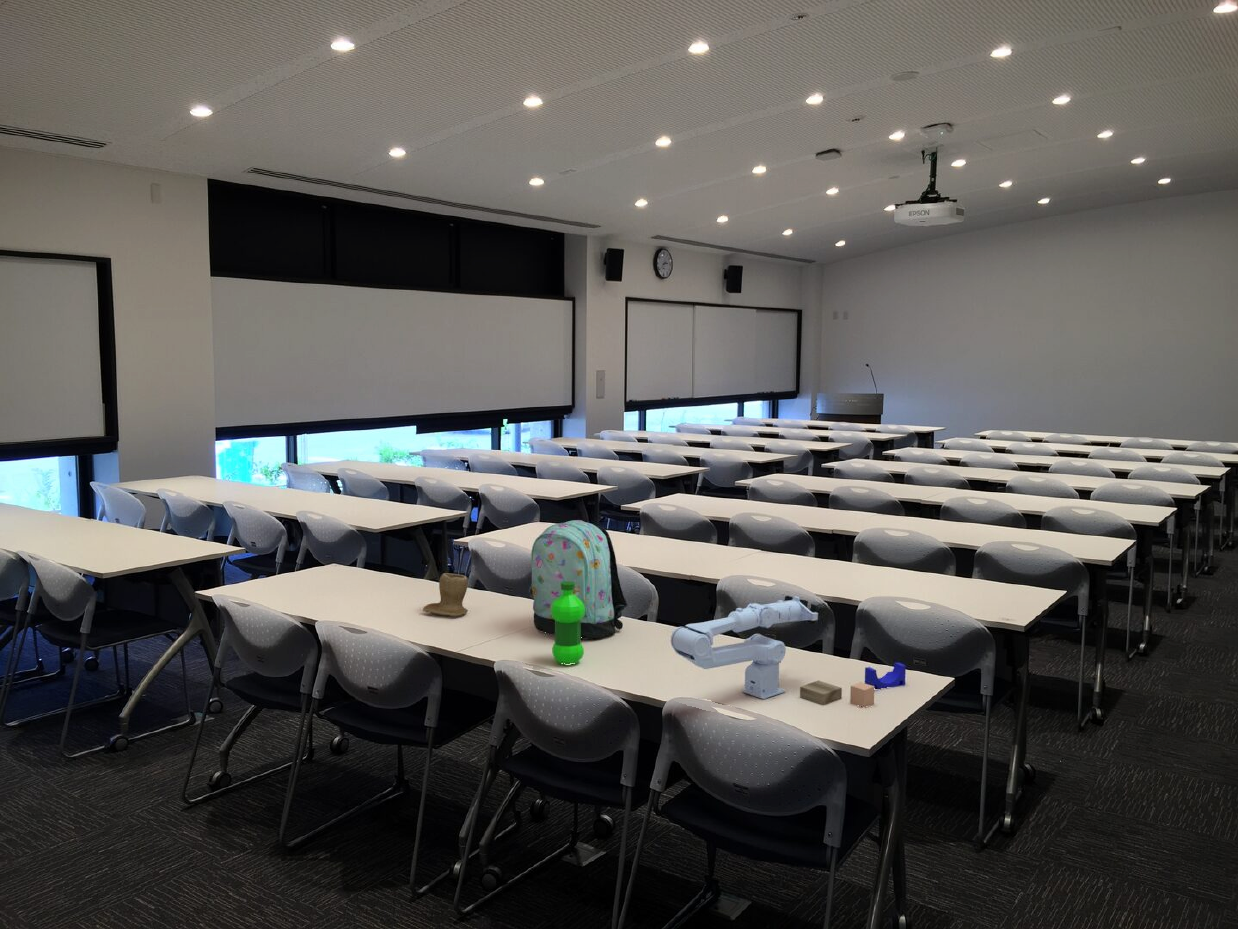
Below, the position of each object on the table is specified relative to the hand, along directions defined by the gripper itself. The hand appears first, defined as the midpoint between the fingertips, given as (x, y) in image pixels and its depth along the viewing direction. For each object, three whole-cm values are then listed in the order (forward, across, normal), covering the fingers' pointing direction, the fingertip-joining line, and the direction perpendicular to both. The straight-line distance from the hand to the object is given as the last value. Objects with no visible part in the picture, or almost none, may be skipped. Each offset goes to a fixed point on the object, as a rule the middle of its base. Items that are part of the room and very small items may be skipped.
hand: (816, 607), depth 275 cm
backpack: (-32, +78, +27) cm, 88 cm away
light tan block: (-4, -23, +20) cm, 31 cm away
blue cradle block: (+13, -16, +20) cm, 29 cm away
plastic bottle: (-50, +52, +27) cm, 77 cm away
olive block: (-10, -13, +21) cm, 27 cm away
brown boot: (-56, +125, +30) cm, 140 cm away
